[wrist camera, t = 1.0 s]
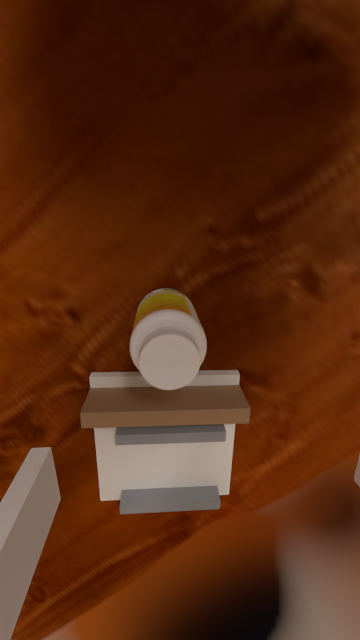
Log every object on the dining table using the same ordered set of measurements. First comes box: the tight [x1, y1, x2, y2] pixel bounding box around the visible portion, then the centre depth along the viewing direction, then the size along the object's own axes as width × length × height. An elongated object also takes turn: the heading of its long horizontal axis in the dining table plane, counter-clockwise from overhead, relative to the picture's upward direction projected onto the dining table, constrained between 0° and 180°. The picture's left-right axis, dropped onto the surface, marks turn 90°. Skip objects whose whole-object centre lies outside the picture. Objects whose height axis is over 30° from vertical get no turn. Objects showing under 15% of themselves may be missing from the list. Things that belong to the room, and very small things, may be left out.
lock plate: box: [80, 370, 251, 514], centre depth 30 cm, size 16×15×5 cm
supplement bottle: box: [130, 288, 207, 390], centre depth 23 cm, size 6×6×10 cm
